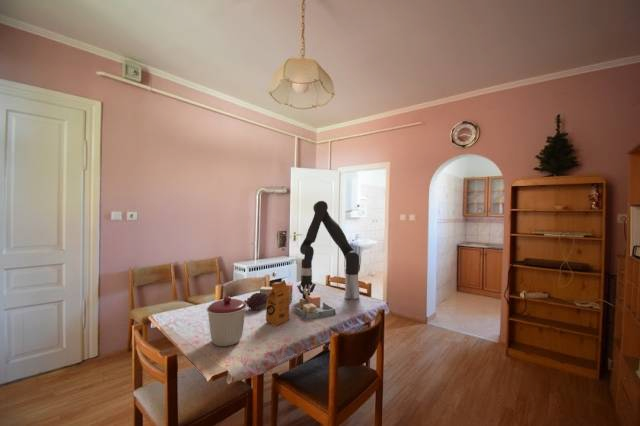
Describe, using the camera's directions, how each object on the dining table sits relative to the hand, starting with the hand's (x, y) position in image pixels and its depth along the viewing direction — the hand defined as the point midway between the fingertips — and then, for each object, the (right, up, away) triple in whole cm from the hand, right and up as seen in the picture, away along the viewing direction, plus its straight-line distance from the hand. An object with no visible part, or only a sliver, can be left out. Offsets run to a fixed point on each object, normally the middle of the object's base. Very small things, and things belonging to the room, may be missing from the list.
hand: (306, 298), depth 190 cm
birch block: (+1, -1, -23) cm, 24 cm away
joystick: (+3, -1, -6) cm, 7 cm away
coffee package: (-14, -1, -37) cm, 39 cm away
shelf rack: (+7, -1, -24) cm, 25 cm away
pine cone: (-30, -1, -18) cm, 35 cm away
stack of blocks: (-20, -1, -4) cm, 20 cm away
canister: (-34, -1, -61) cm, 70 cm away
